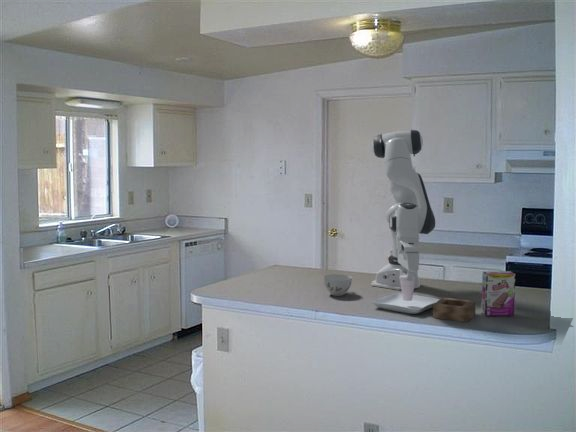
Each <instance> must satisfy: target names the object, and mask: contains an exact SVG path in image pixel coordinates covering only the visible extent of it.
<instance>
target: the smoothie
mask: <svg viewBox="0 0 576 432" xmlns="http://www.w3.org/2000/svg"><path fill="white" fill-rule="evenodd" d="M407 276H408V272H407V275H400V276H399V279H400V282H401V289H402V290H401V293H402V297H403V300H404V301H412V298H413V295H414V290H415V288H414V281H415V279H416V278H415V276H414V275H413V276H412V281H408V280H407Z"/></svg>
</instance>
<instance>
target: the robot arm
mask: <svg viewBox="0 0 576 432" xmlns="http://www.w3.org/2000/svg"><path fill="white" fill-rule="evenodd" d="M423 145H424V139H423V136H422V134H421V133H420V131H419V130H416V129H411V130H396V131H392V132H388V133H383V134H382V133H380V134H377V135H375V136H374V137H373V140H372V141H371V149H372V152H373V154H374V156H375V157H376V158H380V159H381V158H382V159H384V168H385V174H386V176H387V178H388V180H389V190H390V192H391V193H392V195H393V198H394V202H395V204H393V205H392V206H390V207H389V208H388V210H387V211H386V215H385V216H386V217H385V218H386V220H387V222H388V225H389V229H390V232H391V237H392V254H390V256H388V257H387V261H388V263H386V265H383V267H381V268H380V269H379V270H378V271H377V273H376V275H375V279H374V280H371V283H370V286H371V287H377V288H378V287H379V288H384V289H391V290H397V291H400V290H401V291H402V289H401V282H400V279H399V276H400V275H407V272H408V276H407V280H408V281H412V276H413V275H414V276H415V278H416V279H415V281H414V289H417V288H420V287H421V284H420V280H419V275H418V273H419V272H418V271H419V267H420V253H421V252H422V247H421V245H420V234H423V235H429V234H430V233H431V232H432V231H434V229H435V227H436V218H435V213H434V212H433V209H432V206H431V202H430V200H429V198H428V194H427V189H426V186H425V184H424V180H423V178H422V175H421V174H420V173H418V172H417V171H416V170H415V168H414V166H413V162H412V156H411V155H413V157H416V155H417V154H419V153H420V152H421V151H422V147H423Z"/></svg>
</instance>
